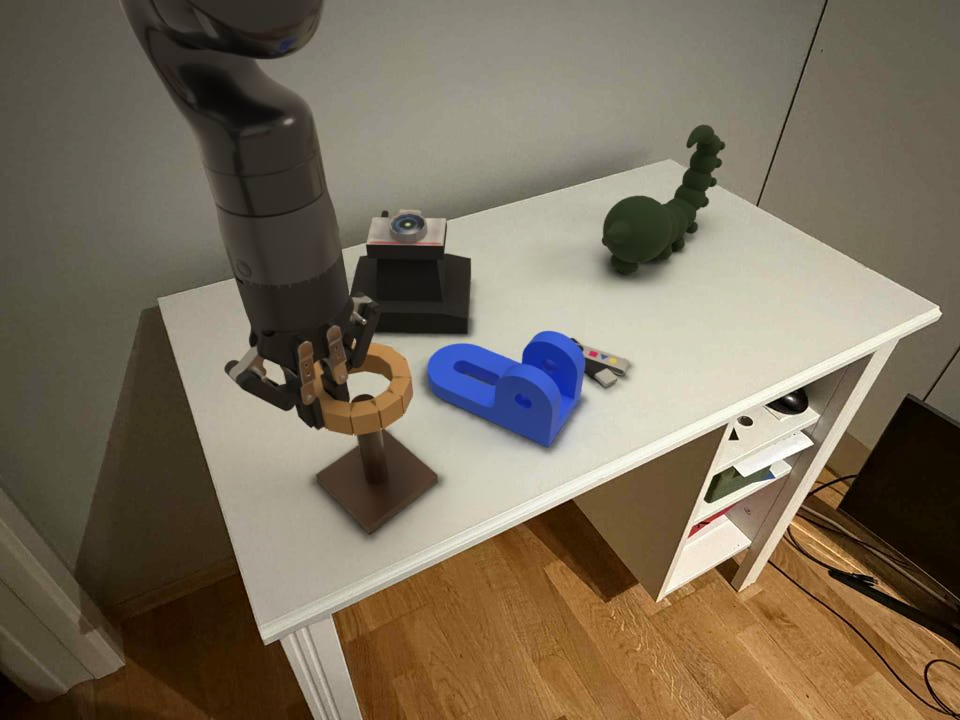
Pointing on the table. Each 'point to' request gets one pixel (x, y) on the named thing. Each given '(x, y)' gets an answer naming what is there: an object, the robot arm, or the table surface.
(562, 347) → the bracket
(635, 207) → the toy figurine
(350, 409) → the orange segmented ring
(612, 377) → the usb flash drive
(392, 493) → the brown peg stand
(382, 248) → the camera
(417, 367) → the table surface
